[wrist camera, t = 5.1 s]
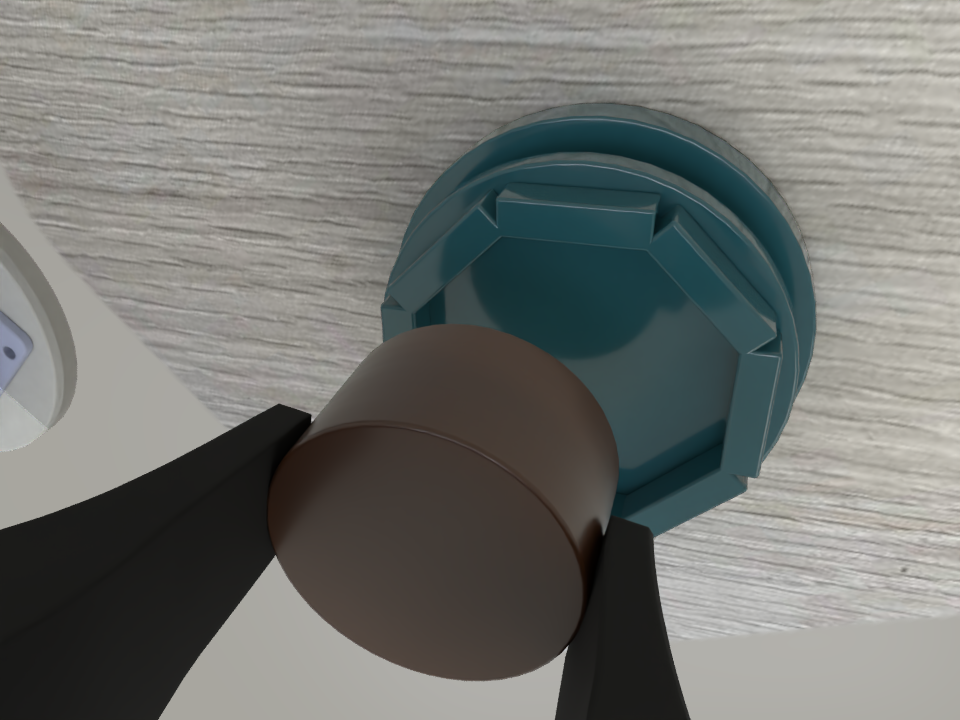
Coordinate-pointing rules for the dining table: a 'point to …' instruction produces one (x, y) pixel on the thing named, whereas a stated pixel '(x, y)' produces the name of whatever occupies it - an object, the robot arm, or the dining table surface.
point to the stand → (627, 288)
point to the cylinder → (450, 504)
